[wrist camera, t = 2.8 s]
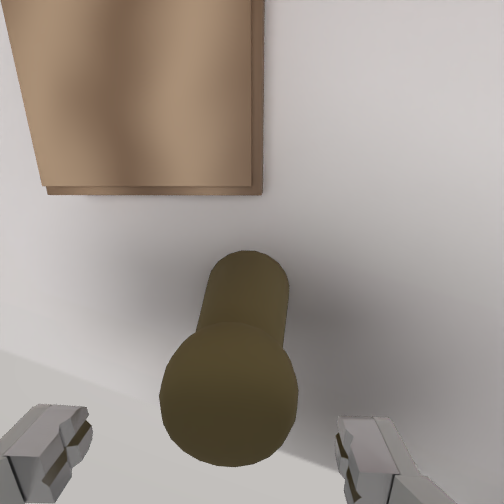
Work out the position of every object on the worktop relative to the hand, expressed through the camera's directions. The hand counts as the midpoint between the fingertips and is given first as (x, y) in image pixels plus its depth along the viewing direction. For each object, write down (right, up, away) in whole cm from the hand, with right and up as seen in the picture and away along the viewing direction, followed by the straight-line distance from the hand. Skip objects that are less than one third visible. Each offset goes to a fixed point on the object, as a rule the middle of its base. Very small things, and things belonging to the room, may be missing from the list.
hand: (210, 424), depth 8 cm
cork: (+1, +3, +11) cm, 11 cm away
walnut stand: (-4, +15, +7) cm, 17 cm away
